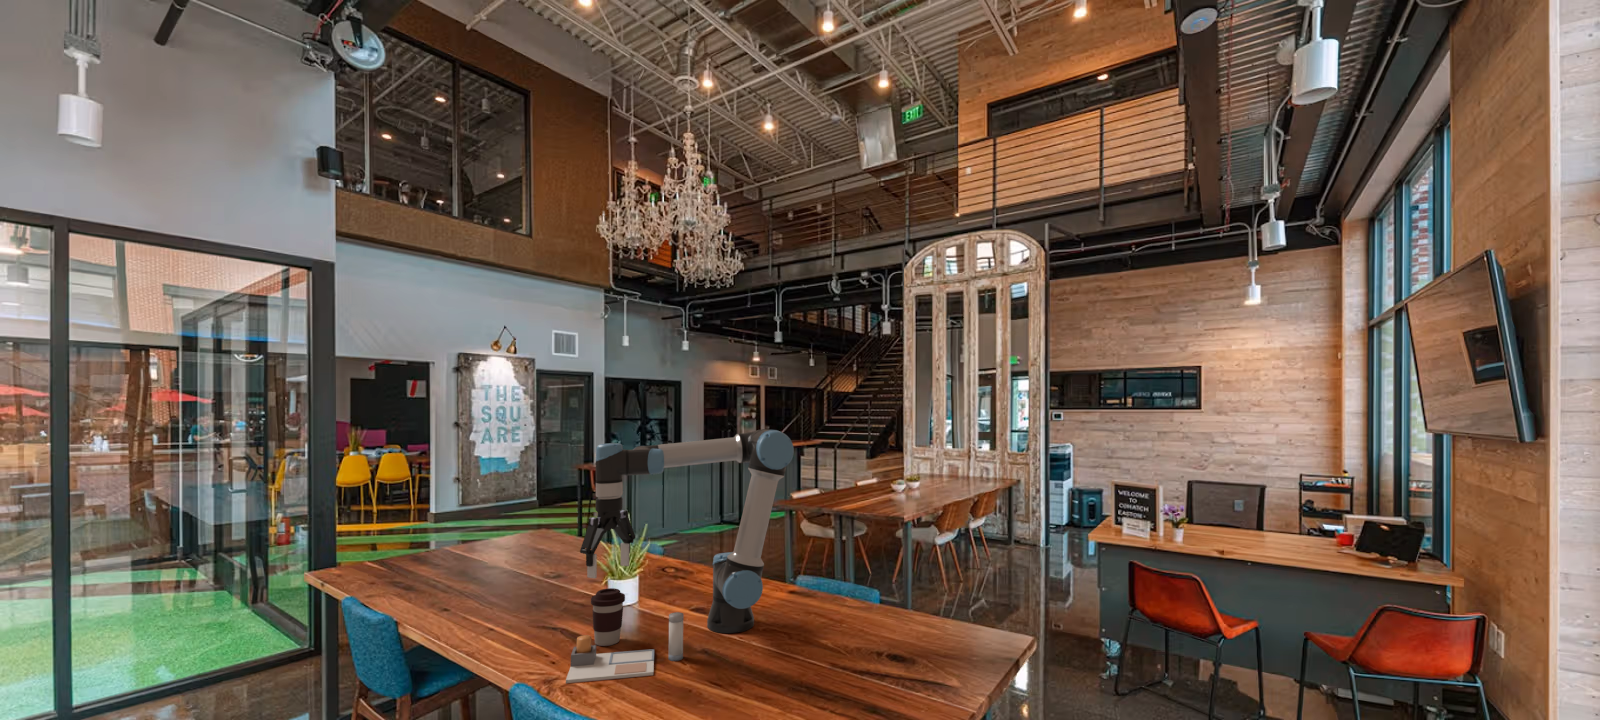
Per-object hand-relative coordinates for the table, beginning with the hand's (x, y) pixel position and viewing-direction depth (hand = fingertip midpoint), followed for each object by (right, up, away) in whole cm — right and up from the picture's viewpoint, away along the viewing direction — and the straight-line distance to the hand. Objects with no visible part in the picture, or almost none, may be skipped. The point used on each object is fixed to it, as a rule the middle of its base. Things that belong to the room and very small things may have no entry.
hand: (608, 571), depth 179 cm
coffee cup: (-3, -25, +9) cm, 26 cm away
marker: (+20, -23, -4) cm, 31 cm away
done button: (-5, -21, -7) cm, 23 cm away
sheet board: (+4, -23, -9) cm, 25 cm away
